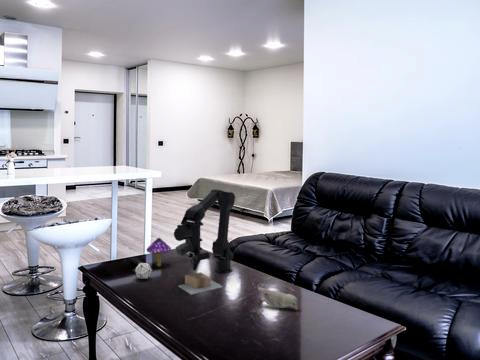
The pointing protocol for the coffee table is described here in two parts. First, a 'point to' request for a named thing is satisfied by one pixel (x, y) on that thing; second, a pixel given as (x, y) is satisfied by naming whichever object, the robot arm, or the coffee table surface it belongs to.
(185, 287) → the rubber mat
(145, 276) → the game die
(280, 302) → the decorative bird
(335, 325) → the coffee table surface
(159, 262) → the decorative mushroom
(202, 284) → the brown wooden block
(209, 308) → the coffee table surface
